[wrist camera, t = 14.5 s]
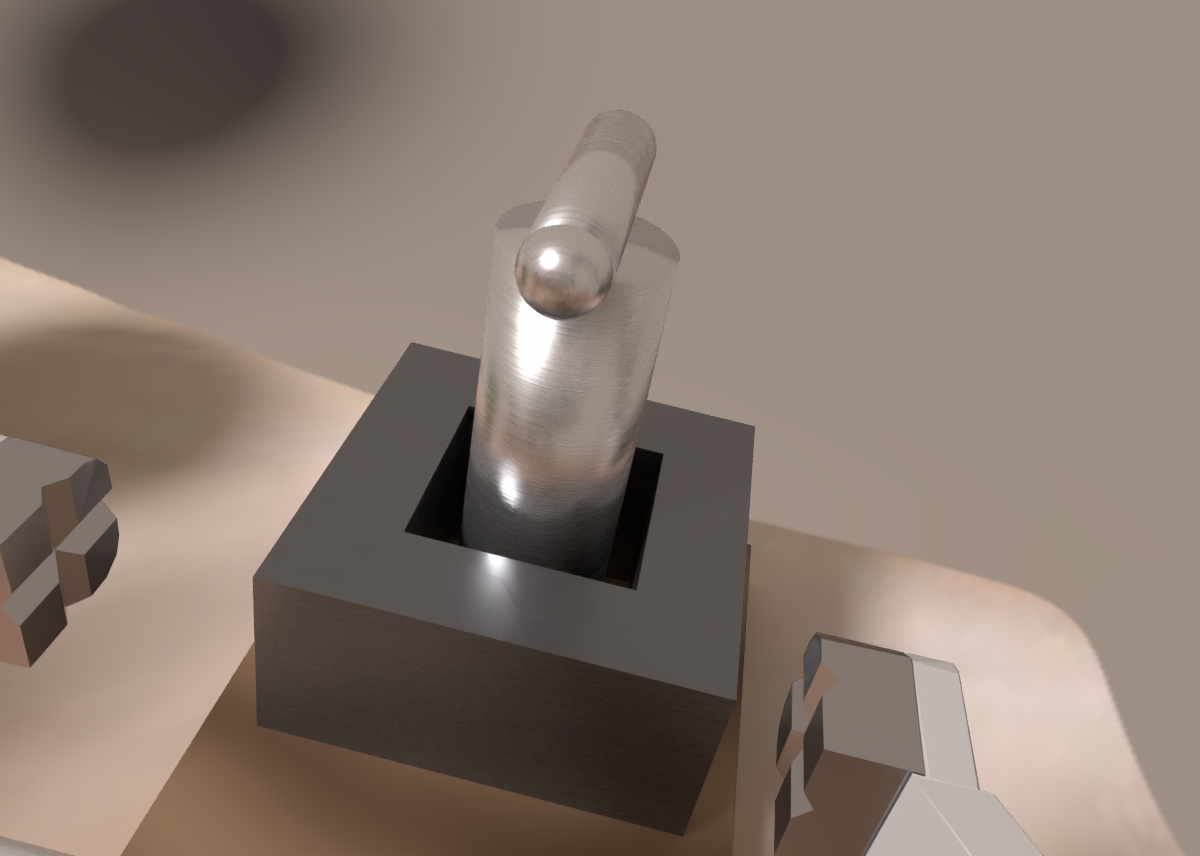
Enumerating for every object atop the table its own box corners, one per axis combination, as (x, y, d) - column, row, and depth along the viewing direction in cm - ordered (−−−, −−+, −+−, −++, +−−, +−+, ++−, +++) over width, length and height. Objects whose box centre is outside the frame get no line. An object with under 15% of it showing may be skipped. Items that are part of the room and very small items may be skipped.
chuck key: (491, 512, 32) (549, 81, 24) (612, 541, 32) (712, 117, 24) (403, 732, 25) (447, 220, 17) (560, 770, 25) (678, 272, 17)
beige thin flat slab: (371, 485, 34) (373, 450, 34) (739, 577, 34) (750, 545, 33) (-208, 1454, 15) (-238, 1430, 14) (655, 1708, 14) (678, 1700, 13)
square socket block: (400, 471, 33) (411, 342, 30) (714, 550, 32) (754, 426, 30) (257, 725, 24) (252, 577, 21) (683, 836, 24) (736, 700, 21)
